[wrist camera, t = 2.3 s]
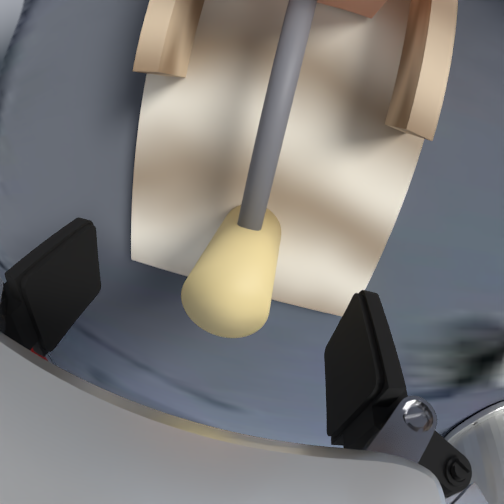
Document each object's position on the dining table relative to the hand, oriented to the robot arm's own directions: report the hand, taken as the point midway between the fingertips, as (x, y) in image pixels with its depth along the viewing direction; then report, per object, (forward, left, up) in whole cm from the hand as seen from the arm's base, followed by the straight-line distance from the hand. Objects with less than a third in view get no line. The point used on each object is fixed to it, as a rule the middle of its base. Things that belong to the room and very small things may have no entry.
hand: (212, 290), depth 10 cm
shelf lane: (+8, -1, -7) cm, 10 cm away
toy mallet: (+8, -1, -6) cm, 10 cm away
